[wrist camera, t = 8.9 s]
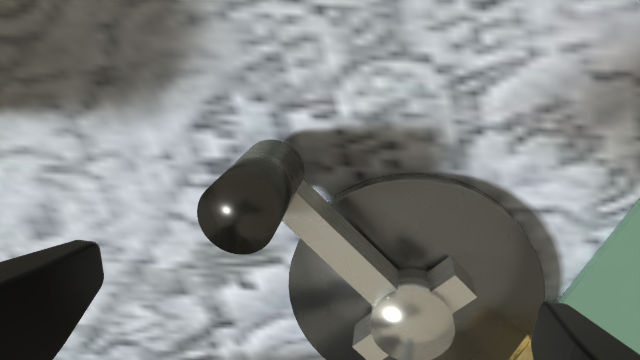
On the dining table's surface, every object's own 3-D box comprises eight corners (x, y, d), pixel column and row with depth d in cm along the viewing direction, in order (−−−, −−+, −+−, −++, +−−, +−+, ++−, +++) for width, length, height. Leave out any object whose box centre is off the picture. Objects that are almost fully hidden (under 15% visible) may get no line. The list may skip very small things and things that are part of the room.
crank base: (459, 411, 25) (461, 426, 24) (261, 322, 25) (256, 334, 24) (592, 240, 20) (601, 251, 19) (349, 131, 20) (346, 136, 19)
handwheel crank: (487, 292, 20) (513, 374, 16) (389, 356, 22) (387, 445, 18) (295, 100, 19) (262, 130, 14) (209, 190, 21) (156, 242, 16)
